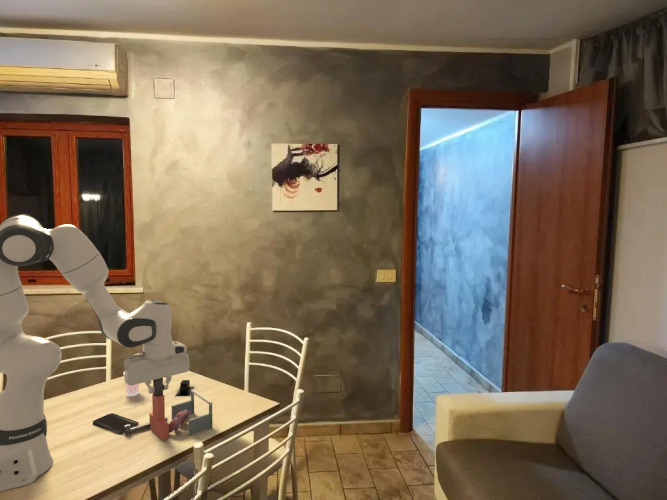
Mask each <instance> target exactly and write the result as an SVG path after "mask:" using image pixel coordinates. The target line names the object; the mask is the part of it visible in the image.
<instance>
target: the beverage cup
mask: <svg viewBox="0 0 667 500" xmlns="http://www.w3.org/2000/svg"><path fill="white" fill-rule="evenodd" d="M122 373H123V376H124V375H125V371H123V372H122ZM124 388H125V395H126V397H134V396H137V395H139V392H140V383H139V384H135V385H131V386H130V385H128V384H127V383H126V382H125V381H124Z"/></svg>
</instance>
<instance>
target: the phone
mask: <svg viewBox="0 0 667 500" xmlns="http://www.w3.org/2000/svg"><path fill="white" fill-rule="evenodd" d="M128 424H130V428H133V427H136V426H139V425H140V424H139V422H138V421H136V420H133V419H132V418H131V419H130V418H127V417H125V416H123V415H119V414H116V413H113V412H111V413H108V414H105V415H103V416H100V417H98V418H96V419H94V420H92V425H93V426H96V427H99V428H101V429H104V430H106V431H108V432H109V431H110V432H111V433H115V434H116V435H117V434H118V435H124V426H125V425H128Z"/></svg>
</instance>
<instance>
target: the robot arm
mask: <svg viewBox="0 0 667 500" xmlns="http://www.w3.org/2000/svg"><path fill="white" fill-rule="evenodd" d="M48 260H50V262H52V263H53V265H54V266H55V267H56V268H57V270H58V271H59V273H61V275H62V277H63V278H64V279H65V280H66V281H67V282H68V283H69V284H70V285H71V286H72V288H74V289H75V290H76V291H77V292H79V293H80V294H81V295H82V296H83V297H84V299H85V300H86V301H87V302H88V304H89V306H90V307H91V309H92V311H93V312H94V313H95V315H96V316H97V321H98V326H99V330H100V332H101V335H102V336H104V338H106V339H107V340H109V341H114V342H115V343H116V344H119V345H120V346H122V347H125V348H131V349H132V348H135V347H139V346H142V352H140V353H136V354H130V355H128V356H127V357H126V358H125V359H124V362H123V368H124V372H125V375H124V374H123V378H124V379H123V381H124V383H125V382H126V383H127V384H128V385H130V386H131V385H135V384H139V385H140V384H143V383H144V384H145V385H146V387H147V388H148V393H149V395H152V394H153V393H155V391H154V390H155V387H153V385H152V386H151V384H152V382H153V380H156V379H160V378H163V379H164V378H165V381H163V391H166V390H169V384H170V383H171V381H172V379H173V378H172V377H173V376H176V375H181V374H184V373H187V372H189V371H190V369H191V364H190V357H189V354H188V353H187V351H188V347H187V346H186V345H185V344H184V343H182V342H179V341H174V340H173V338H172V333H171V332H172V326H173V324H172V323H173V322H172V321H173V320H172V312H171V307H170V305H169V304H168V303H167V302H166V301H163V300H158V299H157V300H156V299H149V300H146V301H144V302H143V303H142V305H141V306H139V307H138V308H136V309H135V310H133V311H132V312H129V311H127V310H126V309H124V308H122V307H120V306H118V305H117V303H116V302H115V300H114V297H112V295H111V294H110V292H109V291H108V289H107V288H106V286H105V285H106V284H105V282H106V281H107V279H108V277H109V272H110V271H109V268H108V265H107V264H106V261H105V259H104V258H103V256H102V254H101V252H100V251H99V250H98V248H96V246H95V244H94V243H93V242H92V241H91V240H90V238H88V236H87V235H86V234H85V233H84V232H83V231H82V230H81V229H80V228H78V227H77V226H75V225H73V224H61V225H58V226H56V227H54V228H48V229H47V228H44V226H43V224H42V222H41V221H40V220H39V219H37V218H36V217H34V216H32V215H29V214H23V213H19V214H17V213H16V214H13V215H11V216H7V217H6V218H5V219H3V221H2V222H1V223H0V374H5V376H6V383H5V387H4V388H5V389H4V390H2V391H1V392H0V492H3V491H9V490H12V489H15V488H19V487H23V486H27V485H30V484H33V483H34V482H35V481H36V480H37V479H38V477H40V476H41V475H43V474H44V473H45V472H47V471H48V470H49V469H50V468H51V467H52V465H53V463H54V460H53V457H52V455H51V452H50V449H49V443H48V440H47V432H48V422H47V421H48V420H47V417H46V415H45V404H44V403H45V401H44V400H45V399H44V398H45V397H44V393H45V386H46V383H47V380H48V378H49V377H50V376H51V375H52V374H53V373H54V372H55V371H56V370H57V369H58V367H59V366H60V364H61V362H62V357H63V356H62V355H63V353H62V350H61V348H60V346H59V345H58V343H56V342H54V341H52V340H49V339H47V338H46V337H43V336H36V335H30V334H29V335H28V334H26V333H25V332H24V330H23V320H24V319H25V318H26V317H27V316H28V314H29V310H30V309H29V308H30V307H29V305H28V301H27V298H26V295H25V292H24V288H23V284H22V281H21V278H20V274H19V267H23V266H29V265H33V264H36V263H40V262H41V263H42V262H46V261H48Z"/></svg>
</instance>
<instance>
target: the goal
mask: <svg viewBox="0 0 667 500" xmlns="http://www.w3.org/2000/svg"><path fill="white" fill-rule="evenodd" d="M195 396H196V397H198V398H199V399H201V400H202V401H203V402H205V403H206V404H208V413H206V414H203V415H200V416H196V417H194V418H190V419H188V435H189V436H192V435H195V434H199V433H201V432H203V431H207V430H210V429H212V428H213V401H211V400H210V399H208V397H205V396H204V395H202V393H200V392H198V391H197V390H196V389H195V388H193V389H191V394H190V400H187V401H183V402H179V403H175V404H173V405H171V421H172V420H173V419H174V418H175V417H176V415H177V413H179V412H181V411H184V410H188V411H190V412H191V415H194V414H195Z"/></svg>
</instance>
